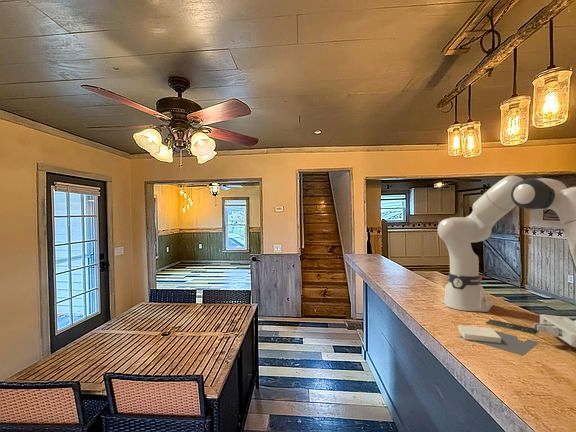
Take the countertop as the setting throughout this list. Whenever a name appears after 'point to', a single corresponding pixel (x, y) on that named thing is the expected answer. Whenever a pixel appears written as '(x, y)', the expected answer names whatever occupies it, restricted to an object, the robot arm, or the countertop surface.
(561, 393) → the countertop surface
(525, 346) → the mat
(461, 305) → the robot arm
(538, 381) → the countertop surface
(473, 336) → the tile
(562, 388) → the countertop surface
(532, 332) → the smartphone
